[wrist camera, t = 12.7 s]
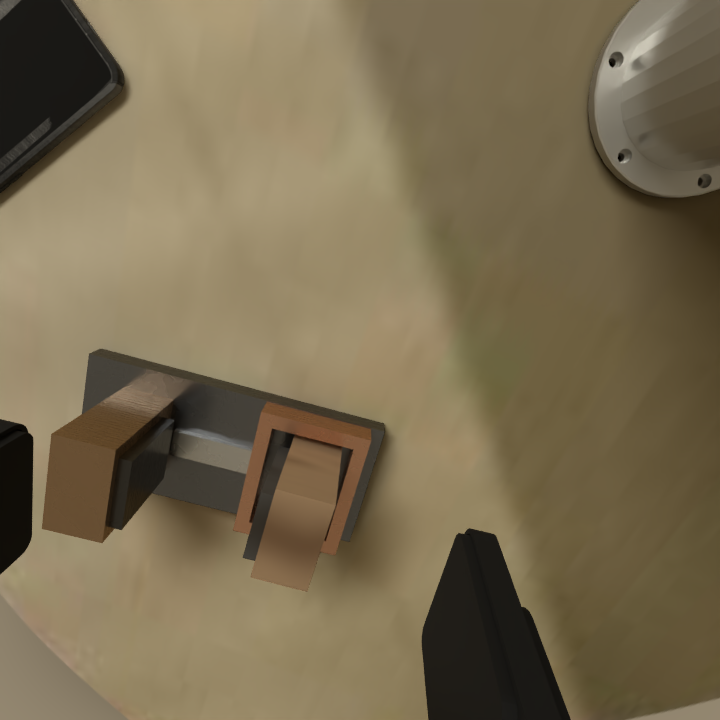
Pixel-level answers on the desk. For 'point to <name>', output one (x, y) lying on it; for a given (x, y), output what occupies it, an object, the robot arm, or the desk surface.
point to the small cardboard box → (294, 512)
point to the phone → (48, 79)
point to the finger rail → (188, 448)
